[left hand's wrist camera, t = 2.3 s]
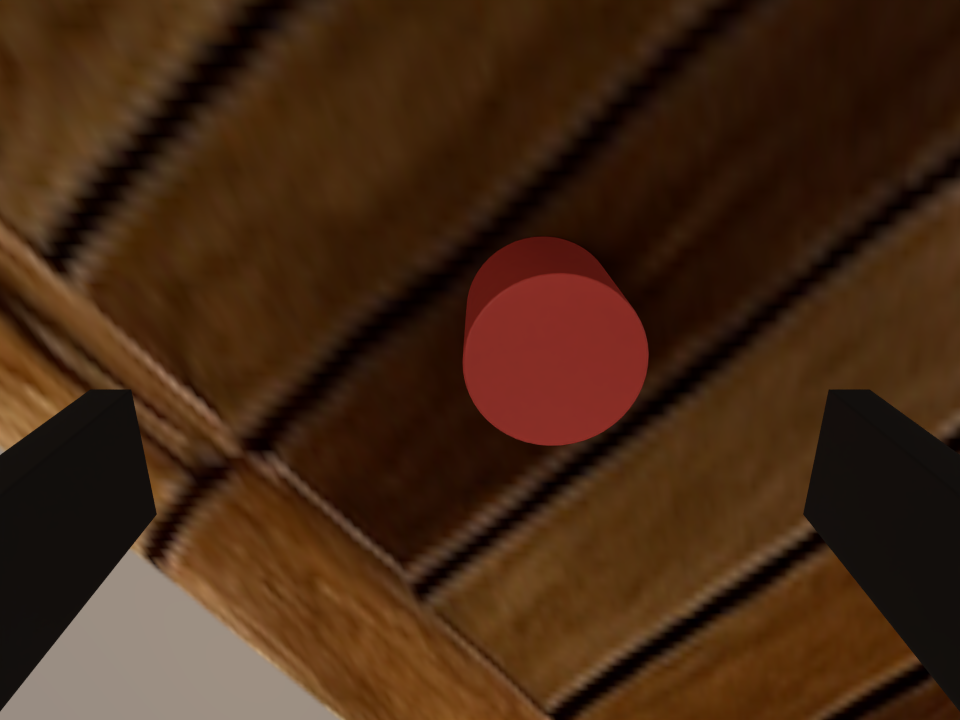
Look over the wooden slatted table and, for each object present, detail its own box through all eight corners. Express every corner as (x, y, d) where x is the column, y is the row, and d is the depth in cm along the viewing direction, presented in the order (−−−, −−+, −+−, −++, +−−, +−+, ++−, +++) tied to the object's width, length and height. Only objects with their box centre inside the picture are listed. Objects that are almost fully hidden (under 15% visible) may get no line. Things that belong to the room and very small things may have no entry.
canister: (474, 383, 22) (472, 454, 18) (458, 244, 20) (452, 283, 16) (616, 370, 22) (650, 438, 18) (612, 228, 20) (648, 263, 16)
